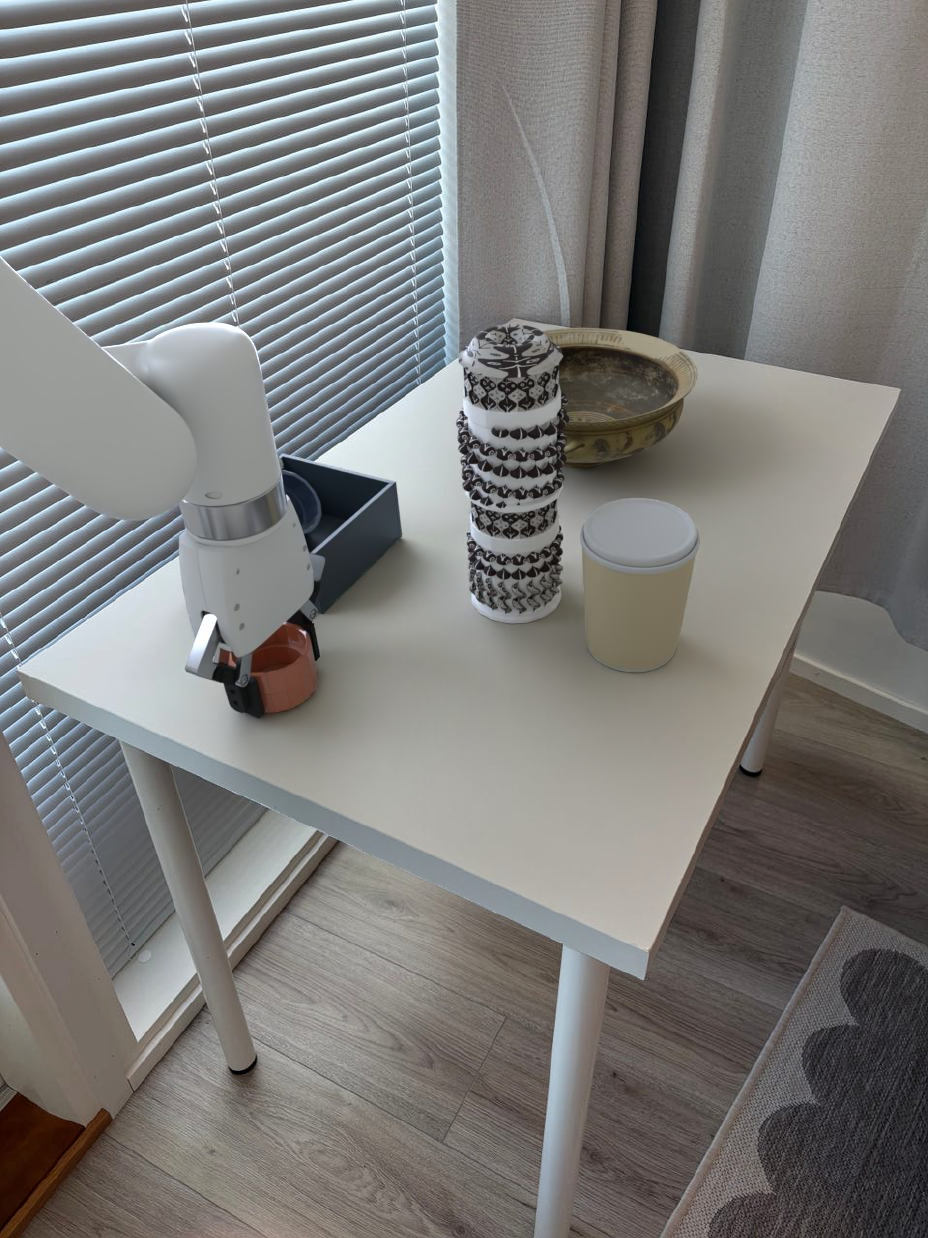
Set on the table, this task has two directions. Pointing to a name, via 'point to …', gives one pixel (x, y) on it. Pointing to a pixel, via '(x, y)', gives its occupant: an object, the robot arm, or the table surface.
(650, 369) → the ceramic bowl
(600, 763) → the table surface
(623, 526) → the coffee cup
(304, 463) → the tub
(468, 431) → the decorative candle
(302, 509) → the faceted blue pot
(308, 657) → the terracotta flower pot
